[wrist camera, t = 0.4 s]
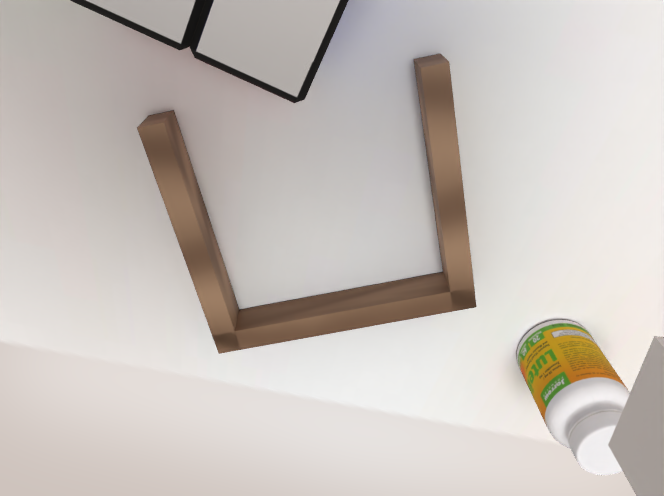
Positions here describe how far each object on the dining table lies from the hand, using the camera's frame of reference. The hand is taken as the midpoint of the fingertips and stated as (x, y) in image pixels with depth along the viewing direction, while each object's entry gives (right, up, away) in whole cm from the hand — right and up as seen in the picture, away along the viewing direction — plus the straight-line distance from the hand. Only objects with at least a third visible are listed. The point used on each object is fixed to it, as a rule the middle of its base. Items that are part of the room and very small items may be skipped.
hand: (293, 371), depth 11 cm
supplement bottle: (+17, -5, +32) cm, 36 cm away
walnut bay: (0, +5, +26) cm, 27 cm away
